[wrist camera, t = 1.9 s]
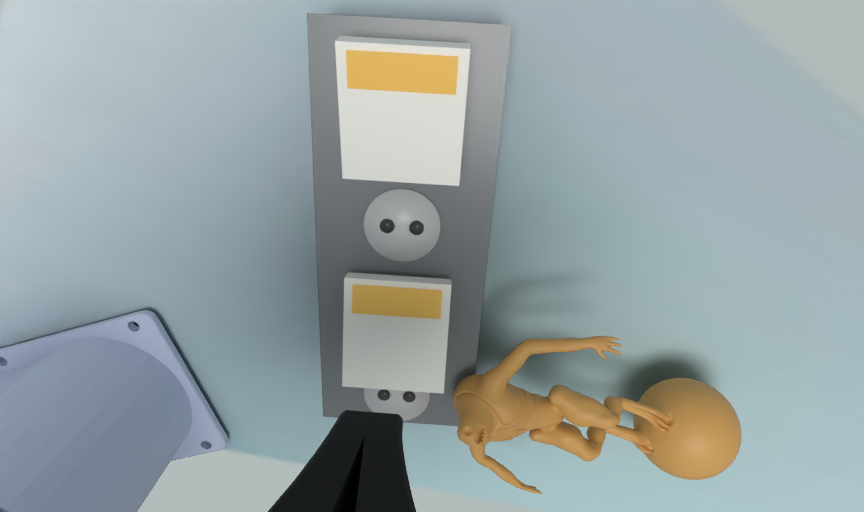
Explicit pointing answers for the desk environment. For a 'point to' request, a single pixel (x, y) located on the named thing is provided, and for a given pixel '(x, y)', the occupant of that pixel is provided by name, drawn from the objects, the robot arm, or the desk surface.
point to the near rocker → (401, 109)
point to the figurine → (598, 417)
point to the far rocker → (395, 332)
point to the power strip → (405, 211)
